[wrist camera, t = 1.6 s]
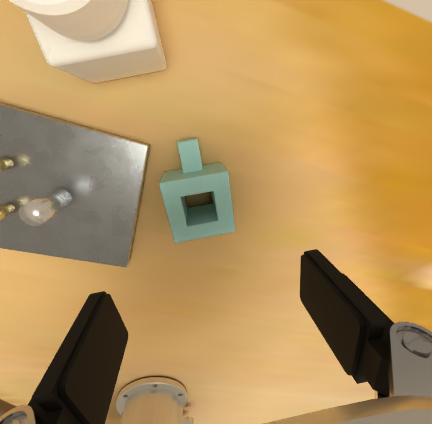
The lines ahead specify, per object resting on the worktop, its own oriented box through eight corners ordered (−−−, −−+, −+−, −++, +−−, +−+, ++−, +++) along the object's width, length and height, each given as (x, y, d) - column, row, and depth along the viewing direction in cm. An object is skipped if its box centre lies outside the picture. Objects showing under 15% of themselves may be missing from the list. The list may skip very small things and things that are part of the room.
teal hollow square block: (227, 212, 27) (235, 231, 22) (177, 222, 26) (174, 243, 22) (216, 134, 23) (223, 137, 18) (157, 143, 22) (149, 149, 18)
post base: (150, 144, 22) (137, 151, 17) (129, 260, 28) (115, 294, 22) (-20, 96, 19) (-103, 86, 14) (-6, 238, 24) (-63, 272, 19)
